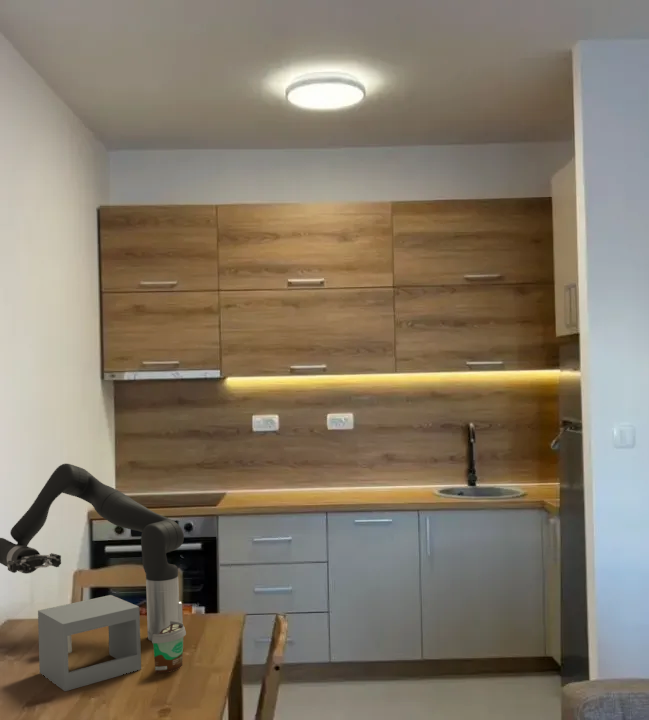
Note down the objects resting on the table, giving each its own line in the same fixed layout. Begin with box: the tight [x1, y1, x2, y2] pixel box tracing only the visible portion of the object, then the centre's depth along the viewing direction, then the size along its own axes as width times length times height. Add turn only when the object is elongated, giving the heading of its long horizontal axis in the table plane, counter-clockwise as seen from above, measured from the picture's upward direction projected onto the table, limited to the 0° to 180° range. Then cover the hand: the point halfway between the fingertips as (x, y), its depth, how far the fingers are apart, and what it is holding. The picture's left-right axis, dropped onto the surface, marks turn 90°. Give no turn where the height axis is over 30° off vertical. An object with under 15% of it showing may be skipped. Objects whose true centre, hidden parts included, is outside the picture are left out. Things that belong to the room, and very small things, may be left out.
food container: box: [151, 621, 187, 674], centre depth 201 cm, size 12×6×10 cm, turn 168°
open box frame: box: [37, 594, 142, 692], centre depth 200 cm, size 20×17×16 cm
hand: (43, 566), depth 224 cm, fingers open, 8 cm apart
